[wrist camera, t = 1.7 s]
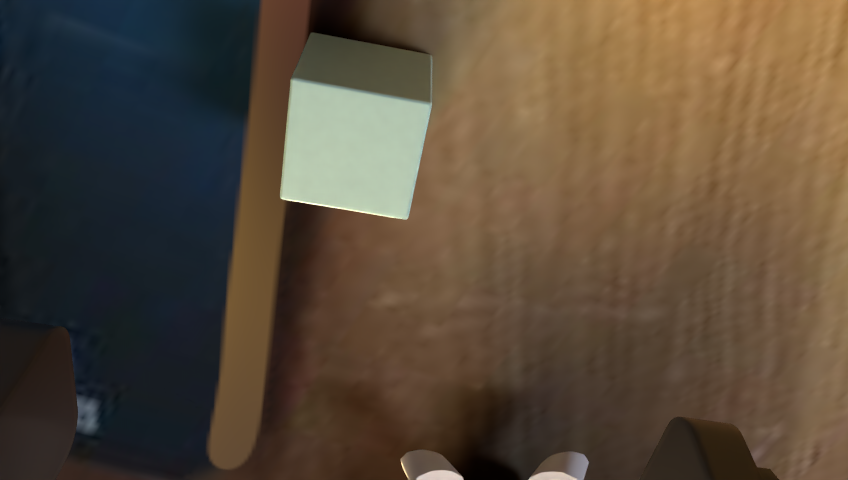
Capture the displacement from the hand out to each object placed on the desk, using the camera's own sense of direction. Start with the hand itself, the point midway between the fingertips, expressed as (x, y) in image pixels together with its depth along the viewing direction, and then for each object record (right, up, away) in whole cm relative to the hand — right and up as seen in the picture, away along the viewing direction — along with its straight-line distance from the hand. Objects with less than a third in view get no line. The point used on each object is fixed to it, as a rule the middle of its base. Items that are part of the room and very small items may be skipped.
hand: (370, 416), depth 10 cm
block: (-1, +7, +15) cm, 17 cm away
